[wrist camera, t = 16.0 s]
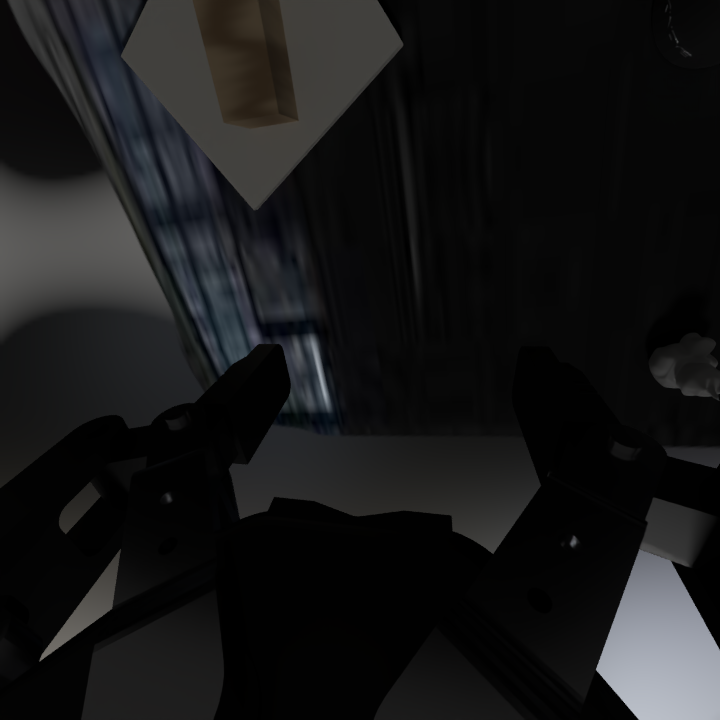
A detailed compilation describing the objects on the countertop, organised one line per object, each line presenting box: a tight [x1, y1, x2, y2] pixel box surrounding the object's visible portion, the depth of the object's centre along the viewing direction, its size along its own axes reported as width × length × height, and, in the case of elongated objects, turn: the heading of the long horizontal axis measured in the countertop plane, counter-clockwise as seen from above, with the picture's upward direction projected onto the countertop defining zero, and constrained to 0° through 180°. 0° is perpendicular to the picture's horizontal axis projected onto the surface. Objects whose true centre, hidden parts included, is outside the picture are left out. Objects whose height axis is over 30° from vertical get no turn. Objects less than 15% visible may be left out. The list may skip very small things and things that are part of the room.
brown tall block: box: [193, 0, 299, 129], centre depth 26 cm, size 5×5×11 cm
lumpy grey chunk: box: [649, 333, 720, 400], centre depth 34 cm, size 5×7×8 cm
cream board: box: [121, 0, 403, 210], centre depth 29 cm, size 20×17×1 cm
